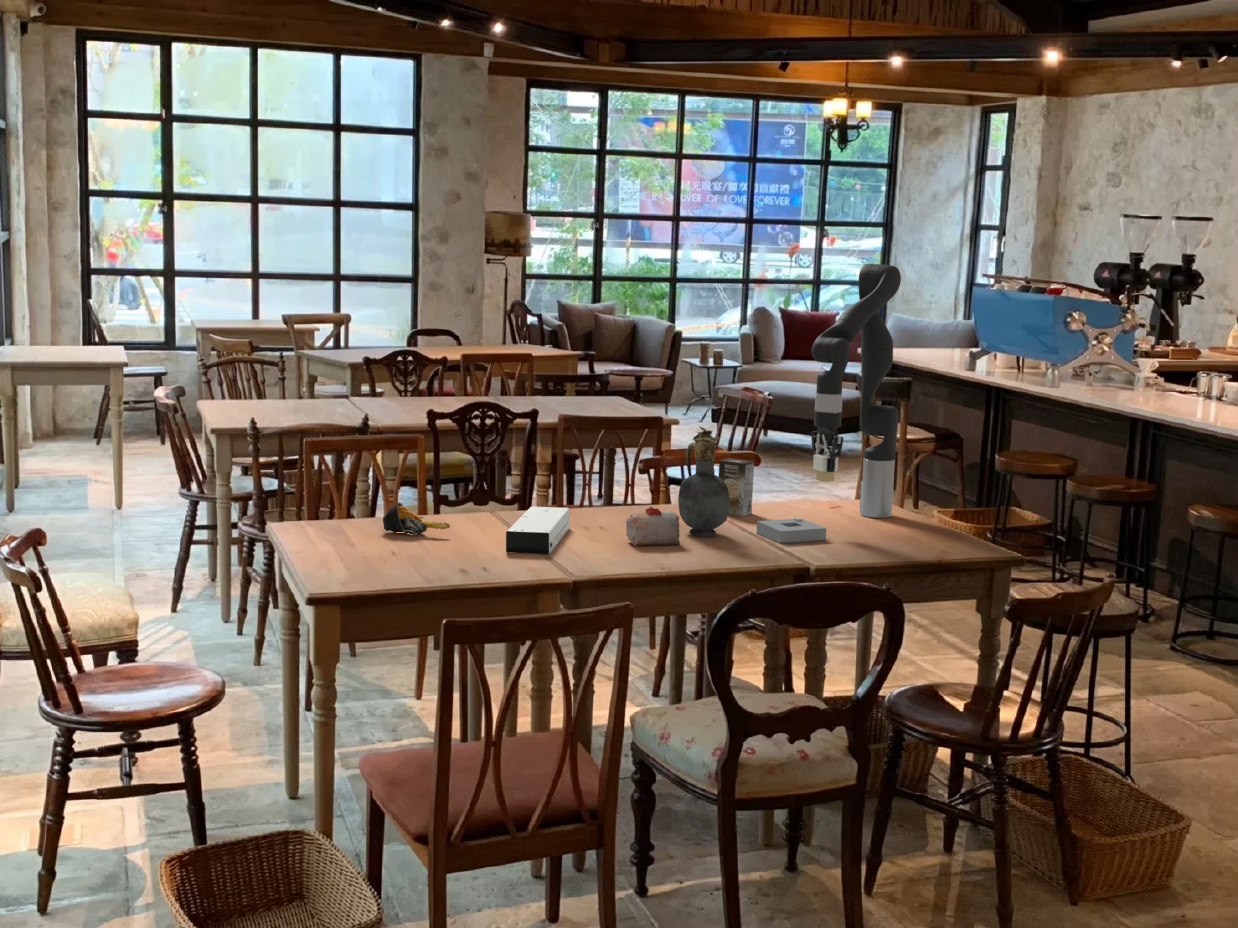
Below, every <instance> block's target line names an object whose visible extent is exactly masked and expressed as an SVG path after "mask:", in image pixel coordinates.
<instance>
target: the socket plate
mask: <svg viewBox="0 0 1238 928" xmlns="http://www.w3.org/2000/svg"><path fill="white" fill-rule="evenodd" d="M756 534H757V535H758V536H761V537H764V538H765V539H768V540H771V541H772V542H775V543H777V544H780V545H786V544H797V543H813V542H826V540H827V527H826V526H825V527H824V526H821V525H820V524H816V523H814V522H811V521H809V520H807V519H804V518H801V517H793V518H786V519H783V518H782V519H770V520H757V521H756Z"/></svg>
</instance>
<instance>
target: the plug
mask: <svg viewBox="0 0 1238 928" xmlns="http://www.w3.org/2000/svg"><path fill="white" fill-rule="evenodd" d="M827 459H828V458H827V453H825V454H820V455H816V454H813V463H812V469H813V470H816V473H815V474H816V475H815V481H819V482H822V483H824V482H834V481H835V472H838V470H839V457H837V458H836V459H835V471H834V472H827Z"/></svg>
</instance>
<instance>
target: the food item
mask: <svg viewBox="0 0 1238 928" xmlns="http://www.w3.org/2000/svg"><path fill="white" fill-rule="evenodd" d="M679 522H680V515H678V514H677V513H676V512H674V511H661V510H660V509H659V508H658V507H656V508H654V507H653V506H650V507H648V508H646V509H645V512H640V513H631V514H630V517H628V518H626V519H625V523H626V527H625V529H626V537H627V539H628V541H630V542H631V544H632V545H633V546H635V547H646V546H674V545H676V546H677V545H680V544H681V543H680V542H681V541H680V523H679Z"/></svg>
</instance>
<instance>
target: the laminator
mask: <svg viewBox="0 0 1238 928" xmlns="http://www.w3.org/2000/svg"><path fill="white" fill-rule="evenodd" d="M570 516H571V515H570V508H569V507H557V506H555V507H554V506H553V507H552V506H533V505H532V506H530V507H529V508H528V509H527V510H526V511H525V512H524V513H523V514H522V515H521V516H520V517H519V518H518V519H517V520H516V521H515V522H514V523H513V524H512V525H511V526H510V527H509V528H508V529H507V531H506V532H505V552H515V553H514V554H532V555H533V554H535V555H550V554H551V553H552V552H553V551H554V549H555V548H556V546H557V545H558V544H559V542H560V541H561V540H562V539H563V538H564V536H565V534H567V532H568V531H569V529H570Z"/></svg>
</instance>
